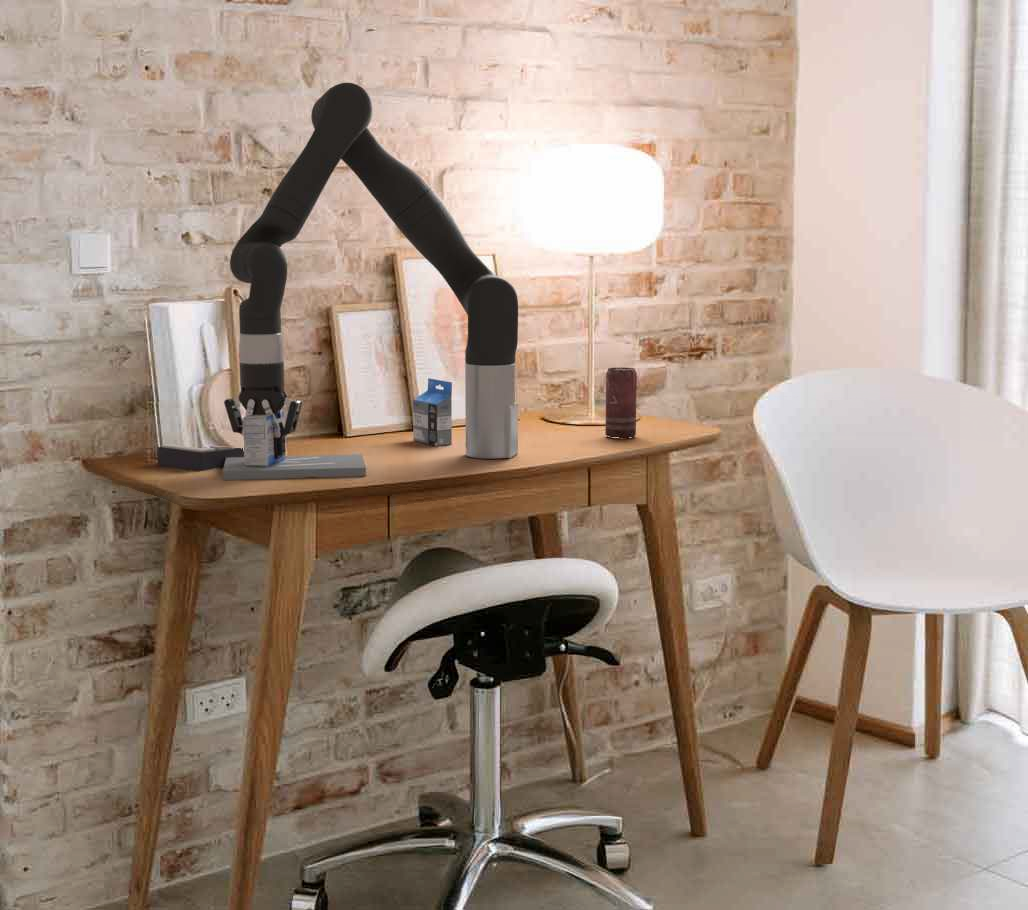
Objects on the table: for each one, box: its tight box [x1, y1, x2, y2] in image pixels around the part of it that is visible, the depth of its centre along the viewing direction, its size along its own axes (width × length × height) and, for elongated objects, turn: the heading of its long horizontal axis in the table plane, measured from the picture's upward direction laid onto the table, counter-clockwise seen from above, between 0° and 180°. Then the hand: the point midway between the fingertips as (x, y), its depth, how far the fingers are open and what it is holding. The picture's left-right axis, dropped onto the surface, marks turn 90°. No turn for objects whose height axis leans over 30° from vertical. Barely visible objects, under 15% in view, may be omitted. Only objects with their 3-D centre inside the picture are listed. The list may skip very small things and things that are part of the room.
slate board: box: [222, 453, 367, 481], centre depth 239 cm, size 24×14×2 cm, turn 99°
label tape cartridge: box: [412, 378, 453, 447], centre depth 269 cm, size 9×4×12 cm, turn 36°
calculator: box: [157, 443, 244, 472], centre depth 248 cm, size 11×4×15 cm
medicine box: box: [242, 410, 286, 467], centre depth 238 cm, size 8×4×9 cm, turn 166°
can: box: [605, 367, 638, 438], centre depth 276 cm, size 6×6×14 cm
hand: (264, 457), depth 238 cm, fingers closed on medicine box, 4 cm apart
